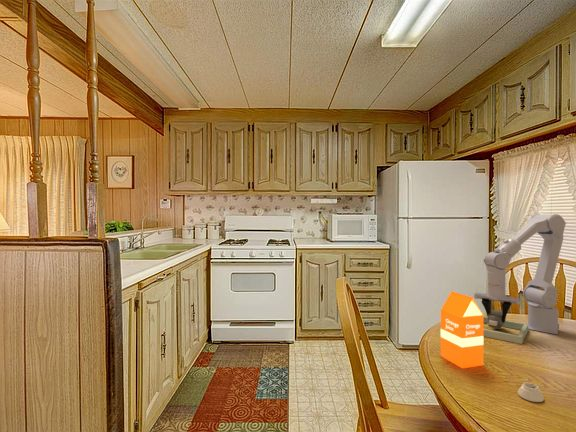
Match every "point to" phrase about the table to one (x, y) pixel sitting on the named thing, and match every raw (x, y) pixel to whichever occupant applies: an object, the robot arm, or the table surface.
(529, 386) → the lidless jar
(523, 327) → the sage frame
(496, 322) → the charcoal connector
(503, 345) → the table surface
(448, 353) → the orange juice
